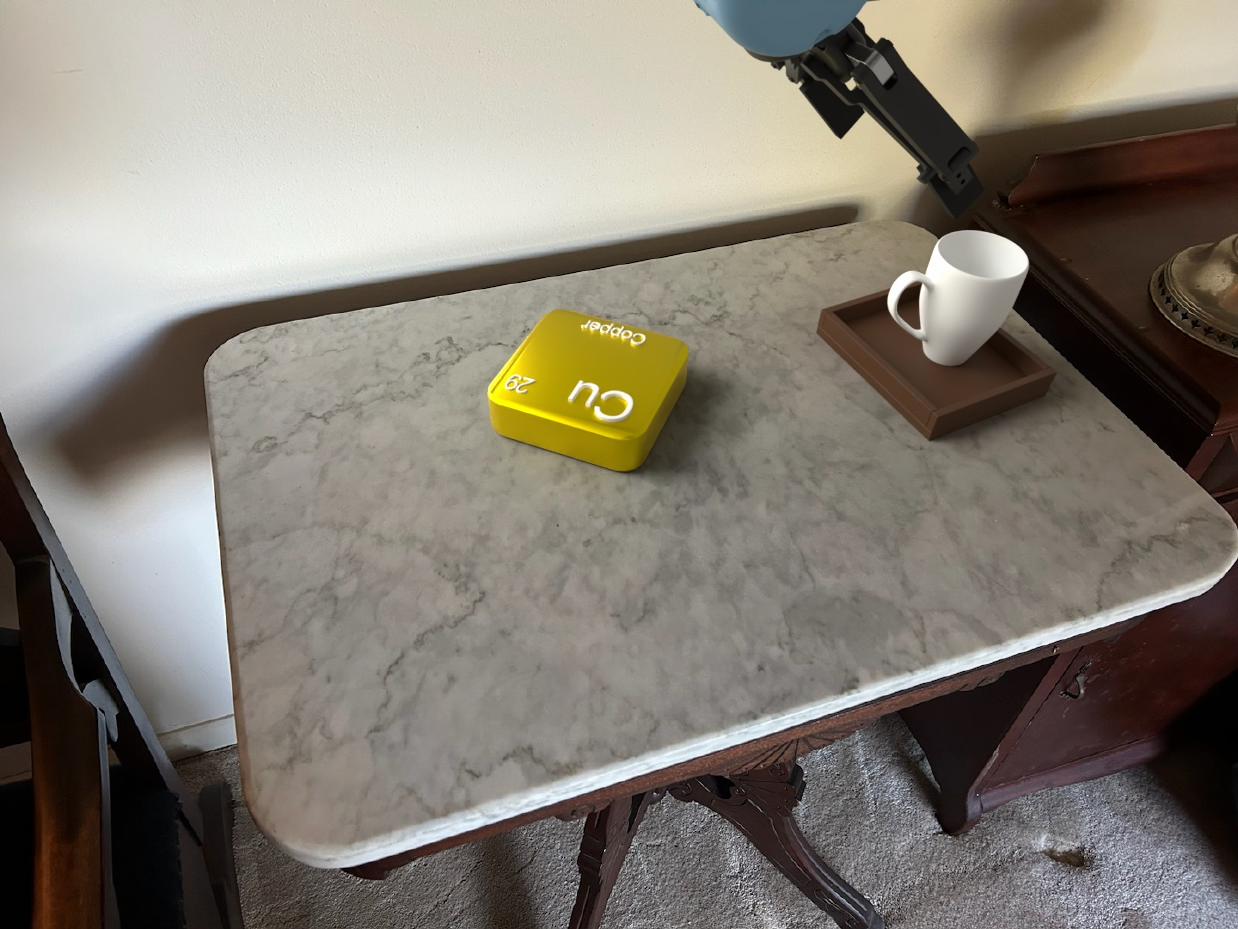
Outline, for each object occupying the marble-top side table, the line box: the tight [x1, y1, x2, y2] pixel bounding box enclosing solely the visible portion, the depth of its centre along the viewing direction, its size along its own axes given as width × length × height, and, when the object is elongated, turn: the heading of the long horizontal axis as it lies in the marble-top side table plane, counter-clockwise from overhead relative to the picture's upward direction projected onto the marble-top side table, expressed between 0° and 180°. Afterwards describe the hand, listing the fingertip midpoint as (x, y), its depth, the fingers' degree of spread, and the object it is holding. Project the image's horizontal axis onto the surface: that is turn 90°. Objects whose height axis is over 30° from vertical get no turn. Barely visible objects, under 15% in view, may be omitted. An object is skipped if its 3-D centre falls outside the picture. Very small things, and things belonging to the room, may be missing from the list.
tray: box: [815, 282, 1058, 441], centre depth 84 cm, size 18×15×3 cm
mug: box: [888, 229, 1030, 366], centre depth 80 cm, size 12×8×11 cm
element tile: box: [487, 308, 690, 472], centre depth 78 cm, size 15×15×5 cm
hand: (905, 161), depth 64 cm, fingers open, 13 cm apart
